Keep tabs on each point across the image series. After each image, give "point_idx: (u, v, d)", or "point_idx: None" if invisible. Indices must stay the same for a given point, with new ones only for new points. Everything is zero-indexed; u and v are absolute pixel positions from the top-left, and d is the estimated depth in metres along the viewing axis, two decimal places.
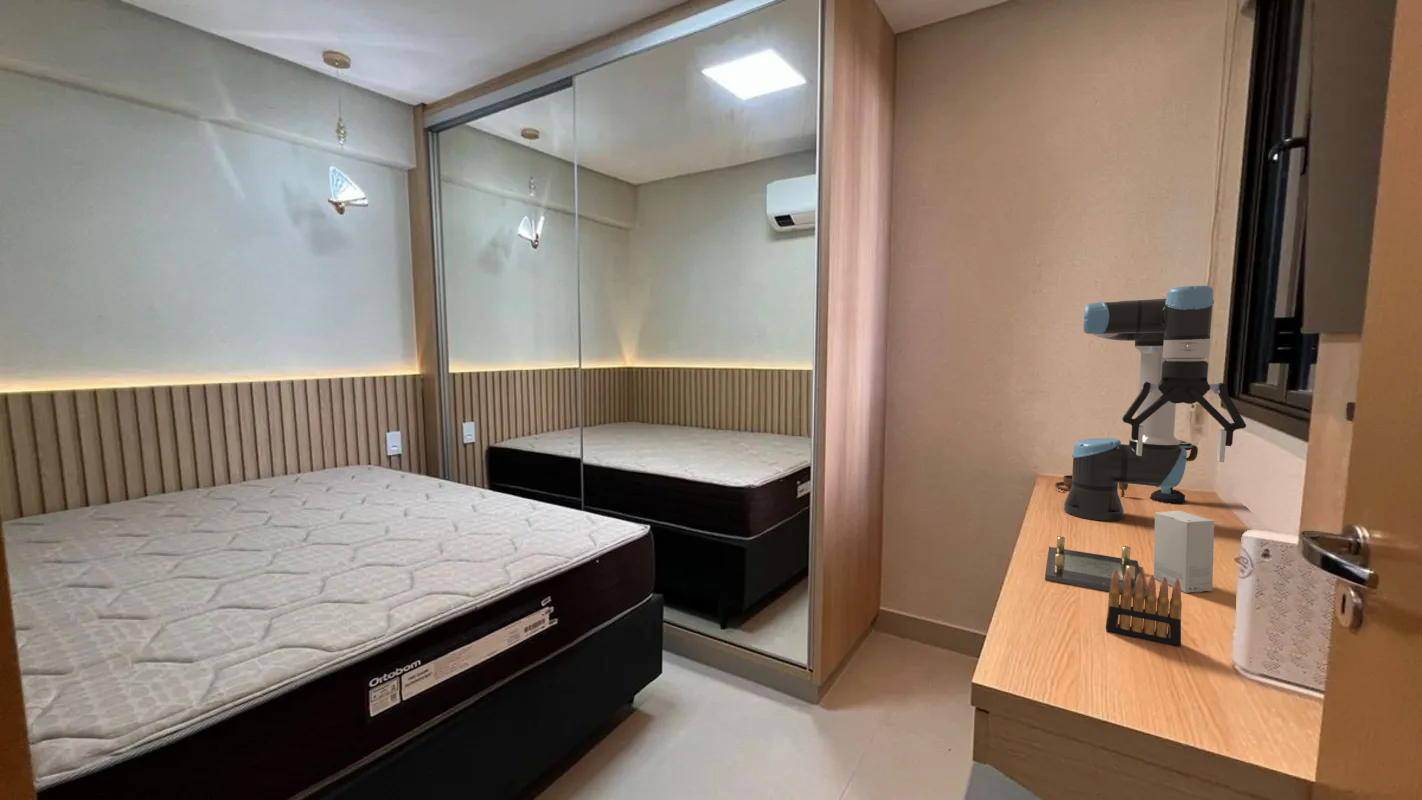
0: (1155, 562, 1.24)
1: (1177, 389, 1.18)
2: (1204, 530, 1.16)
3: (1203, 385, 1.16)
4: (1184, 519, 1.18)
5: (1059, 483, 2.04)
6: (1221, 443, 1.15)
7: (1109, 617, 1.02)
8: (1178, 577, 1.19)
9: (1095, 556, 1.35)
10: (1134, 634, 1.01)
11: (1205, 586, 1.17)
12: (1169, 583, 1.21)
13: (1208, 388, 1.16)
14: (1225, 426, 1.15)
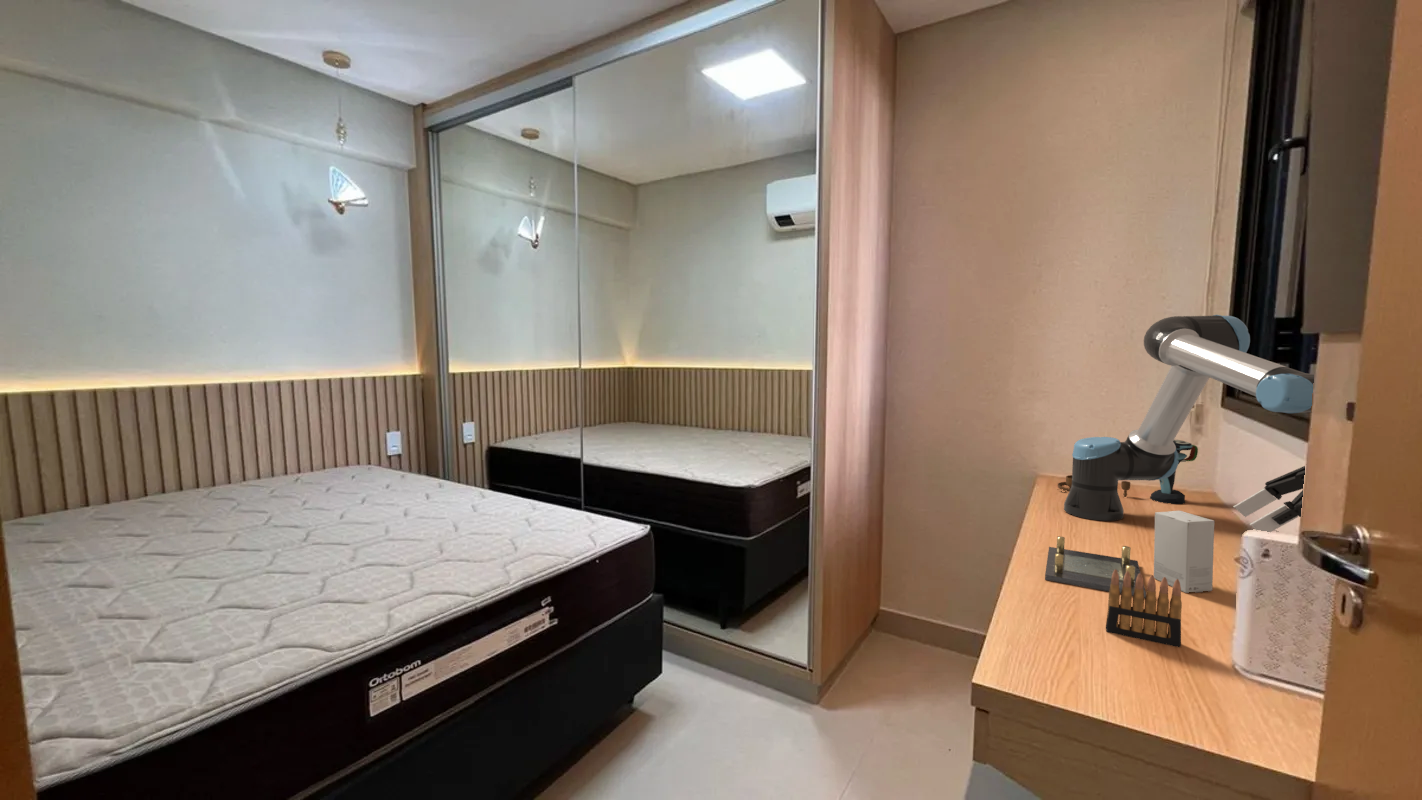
0: (1155, 562, 1.24)
1: None
2: (1204, 530, 1.16)
3: None
4: (1184, 519, 1.18)
5: (1061, 483, 2.04)
6: (1263, 506, 1.17)
7: (1109, 617, 1.02)
8: (1178, 577, 1.19)
9: (1095, 556, 1.35)
10: (1134, 634, 1.01)
11: (1205, 586, 1.17)
12: (1169, 583, 1.21)
13: None
14: None
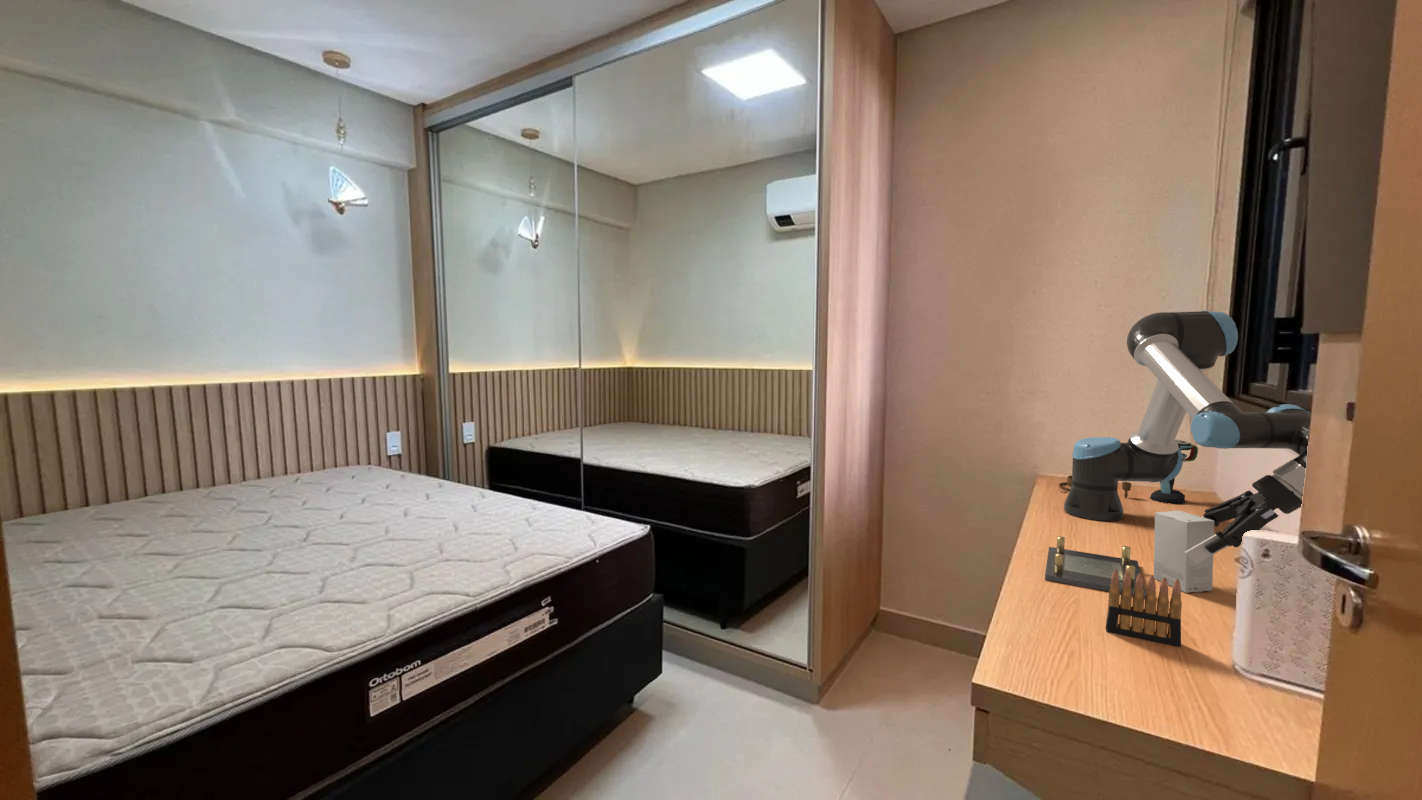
0: (1155, 562, 1.24)
1: None
2: (1204, 530, 1.16)
3: None
4: (1184, 519, 1.18)
5: (1063, 483, 2.04)
6: None
7: (1109, 617, 1.02)
8: (1178, 577, 1.19)
9: (1095, 556, 1.35)
10: (1134, 634, 1.01)
11: (1205, 586, 1.17)
12: (1169, 583, 1.21)
13: None
14: None
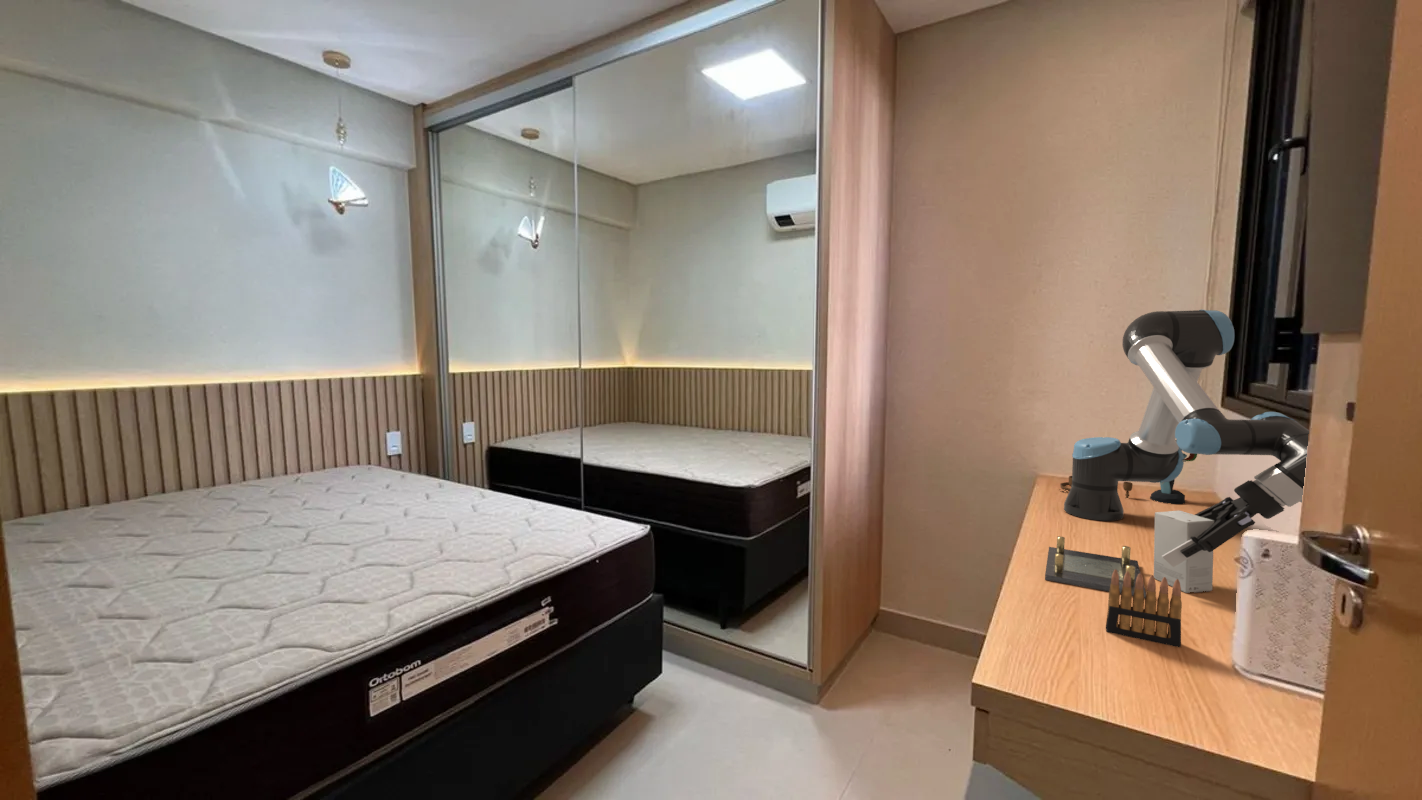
0: (1155, 562, 1.24)
1: None
2: (1203, 530, 1.16)
3: None
4: (1184, 519, 1.18)
5: (1065, 483, 2.04)
6: None
7: (1109, 617, 1.02)
8: (1178, 577, 1.19)
9: (1095, 556, 1.35)
10: (1134, 634, 1.01)
11: (1205, 586, 1.17)
12: (1169, 583, 1.21)
13: None
14: None
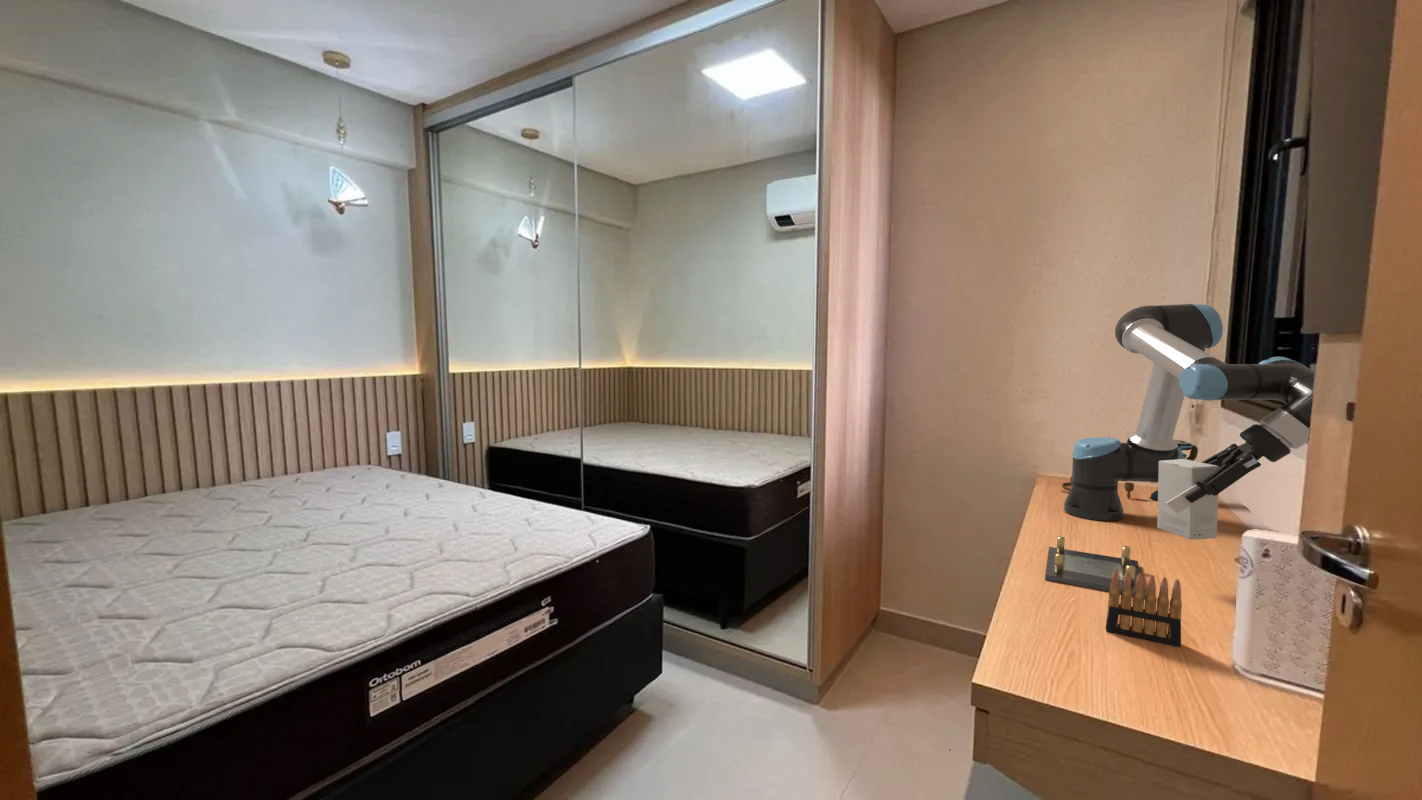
0: (1159, 511, 1.23)
1: None
2: (1208, 476, 1.15)
3: None
4: (1188, 465, 1.16)
5: (1067, 483, 2.03)
6: None
7: (1109, 617, 1.02)
8: (1182, 524, 1.17)
9: (1095, 556, 1.35)
10: (1134, 634, 1.01)
11: (1210, 533, 1.16)
12: (1173, 531, 1.20)
13: None
14: None
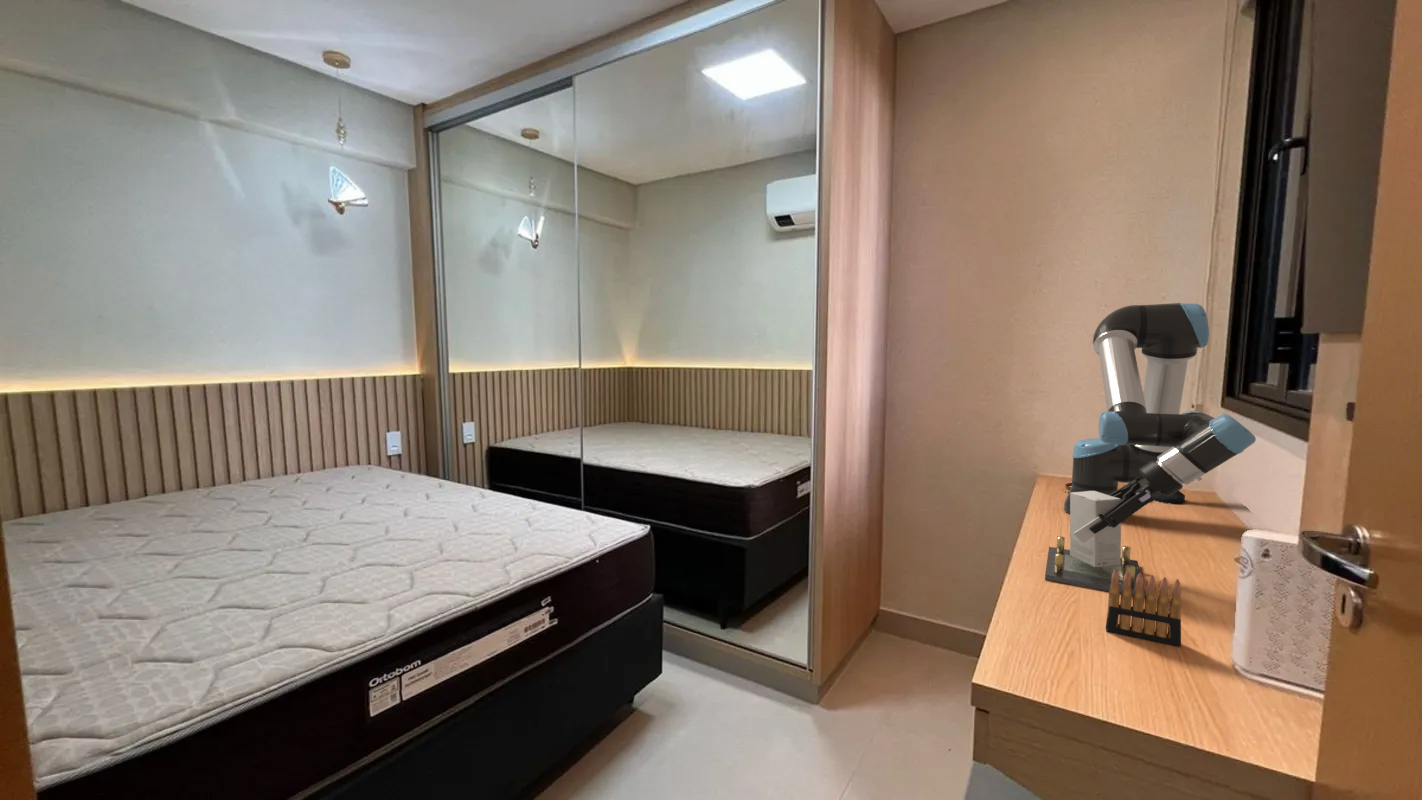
0: (1071, 540, 1.31)
1: None
2: None
3: None
4: (1093, 498, 1.25)
5: (1071, 484, 2.03)
6: None
7: (1109, 617, 1.02)
8: (1089, 552, 1.25)
9: None
10: (1134, 634, 1.01)
11: (1114, 561, 1.24)
12: (1082, 559, 1.28)
13: None
14: None
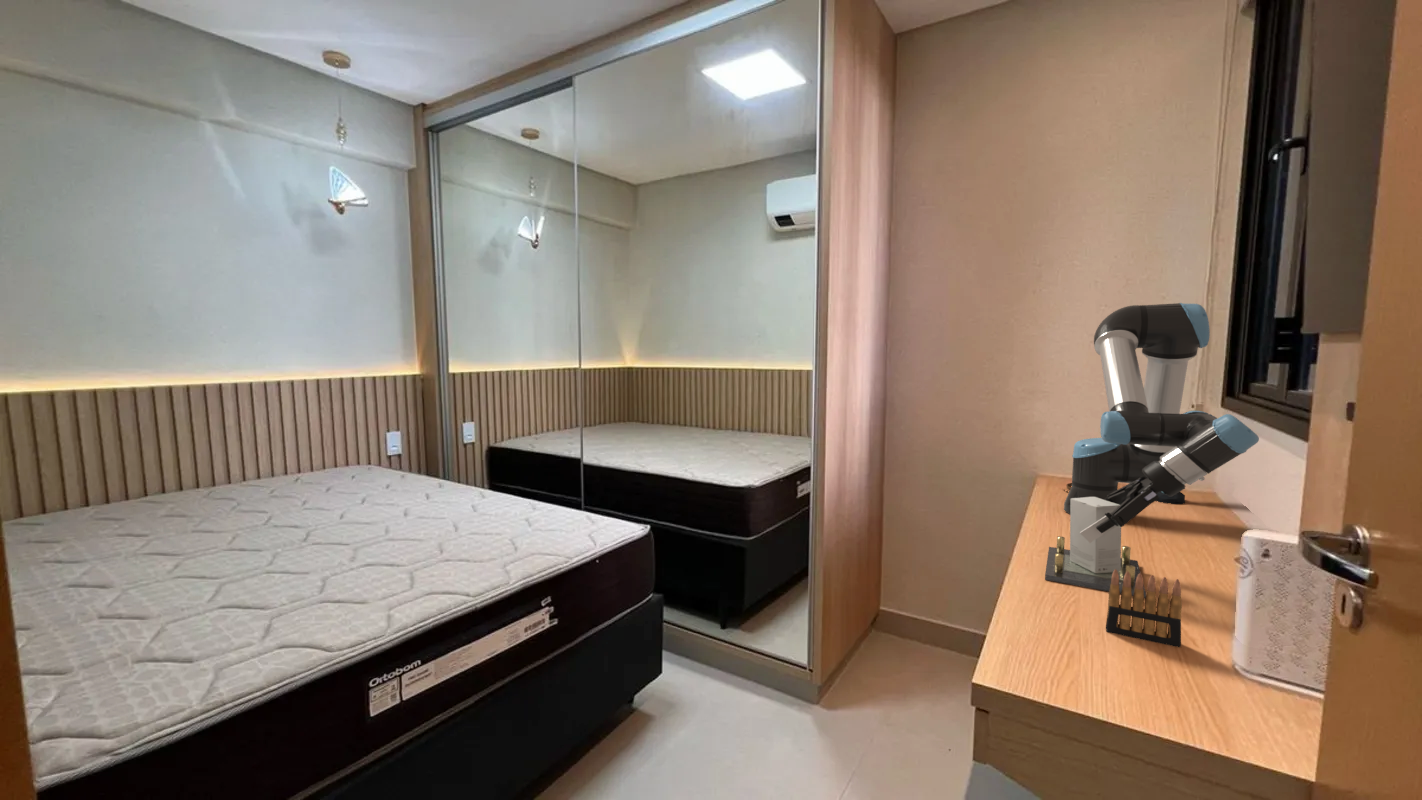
0: (1071, 546, 1.31)
1: None
2: None
3: None
4: (1094, 504, 1.25)
5: None
6: None
7: (1109, 617, 1.02)
8: (1089, 558, 1.26)
9: None
10: (1134, 634, 1.01)
11: (1114, 567, 1.25)
12: (1082, 565, 1.28)
13: None
14: None
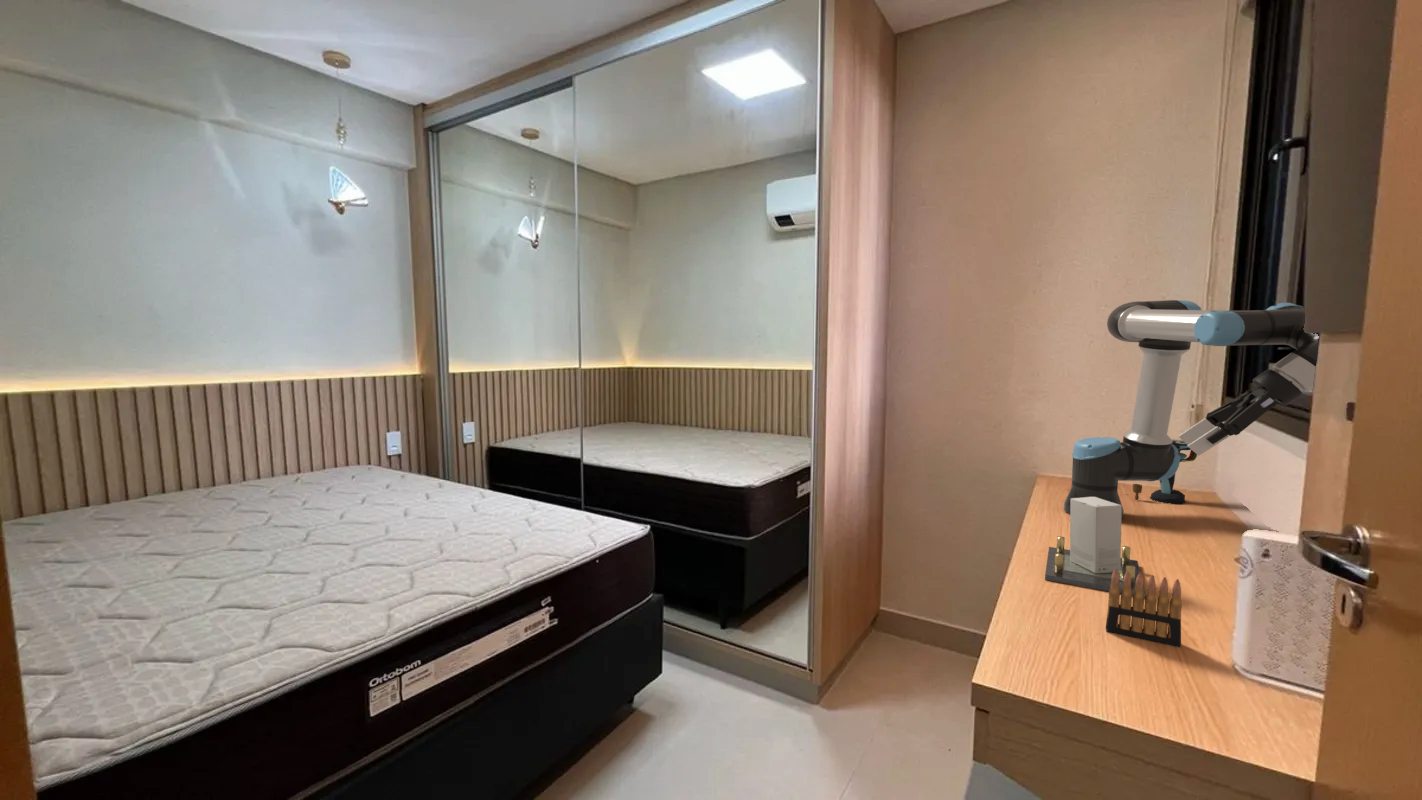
0: (1071, 546, 1.31)
1: None
2: (1111, 514, 1.23)
3: None
4: (1094, 504, 1.25)
5: None
6: (1204, 434, 1.28)
7: (1109, 617, 1.02)
8: (1089, 558, 1.26)
9: None
10: (1134, 634, 1.01)
11: (1114, 567, 1.25)
12: (1082, 565, 1.28)
13: None
14: None
